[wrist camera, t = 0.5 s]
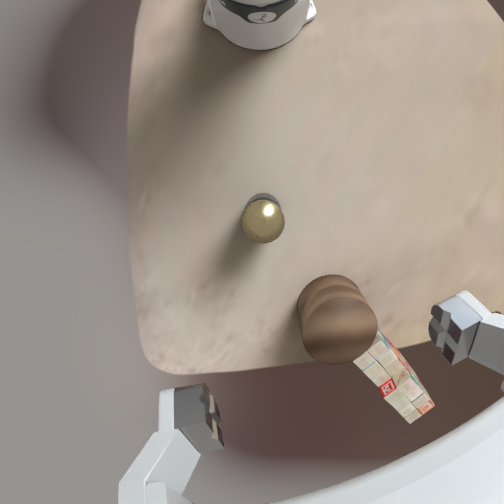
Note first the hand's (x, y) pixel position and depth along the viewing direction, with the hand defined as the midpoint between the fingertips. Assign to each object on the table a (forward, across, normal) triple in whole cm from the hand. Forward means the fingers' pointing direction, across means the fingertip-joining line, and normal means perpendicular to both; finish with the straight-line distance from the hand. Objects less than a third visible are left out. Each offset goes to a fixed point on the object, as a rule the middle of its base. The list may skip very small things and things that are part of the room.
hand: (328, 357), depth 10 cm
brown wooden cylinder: (+36, -11, +30) cm, 49 cm away
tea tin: (+42, -4, +12) cm, 43 cm away
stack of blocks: (+32, -20, +44) cm, 58 cm away
